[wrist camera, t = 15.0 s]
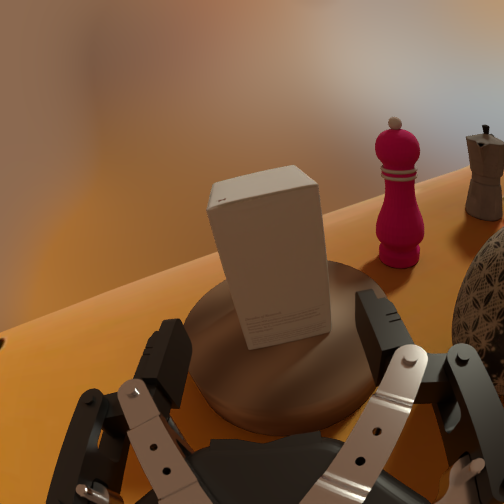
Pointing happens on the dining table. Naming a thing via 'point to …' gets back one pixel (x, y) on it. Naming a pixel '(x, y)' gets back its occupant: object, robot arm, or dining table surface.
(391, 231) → the pepper mill
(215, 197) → the supplement box
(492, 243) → the decorative egg
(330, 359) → the walnut base
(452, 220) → the dining table surface
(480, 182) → the coffeepot
